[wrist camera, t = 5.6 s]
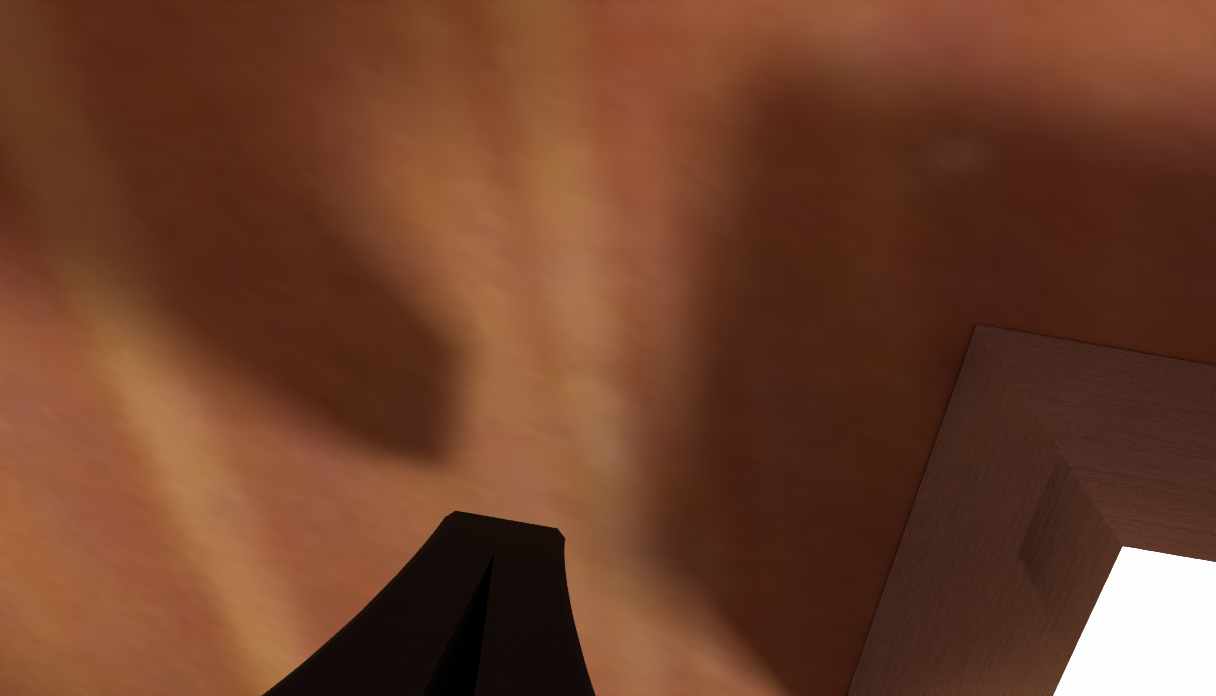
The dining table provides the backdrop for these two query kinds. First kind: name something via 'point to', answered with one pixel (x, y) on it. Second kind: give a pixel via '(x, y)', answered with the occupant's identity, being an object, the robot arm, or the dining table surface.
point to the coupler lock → (1058, 531)
